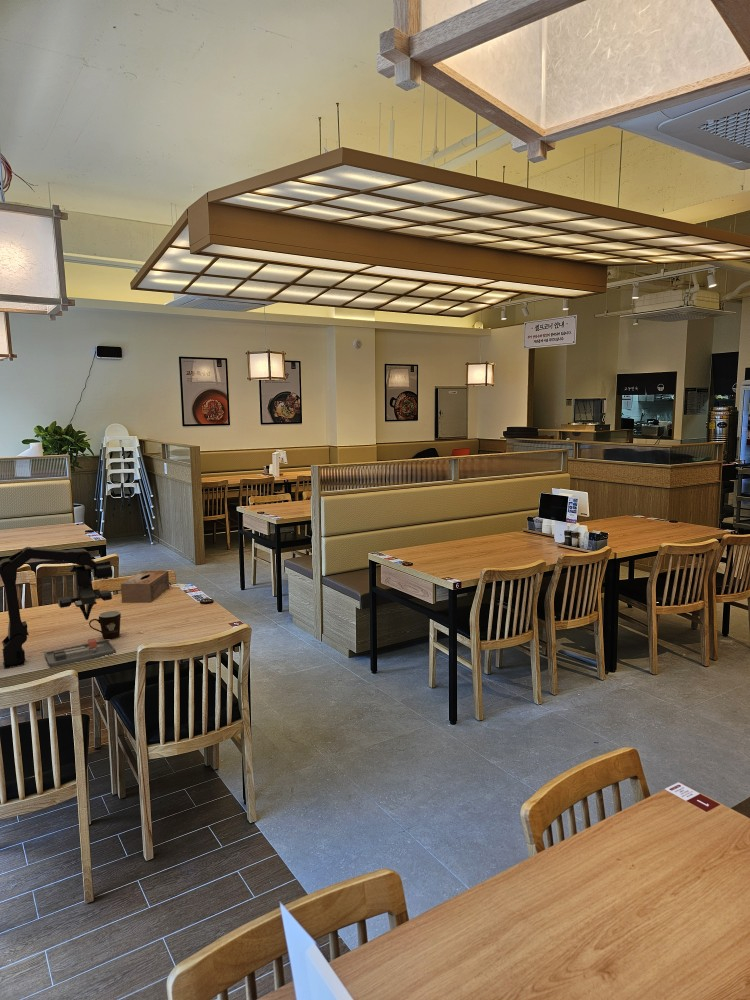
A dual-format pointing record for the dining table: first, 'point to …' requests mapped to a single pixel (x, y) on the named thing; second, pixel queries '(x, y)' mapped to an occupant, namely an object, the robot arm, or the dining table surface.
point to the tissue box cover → (144, 586)
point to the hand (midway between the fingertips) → (86, 619)
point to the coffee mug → (109, 624)
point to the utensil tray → (52, 663)
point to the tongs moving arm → (68, 650)
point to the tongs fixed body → (79, 652)
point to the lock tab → (92, 643)
